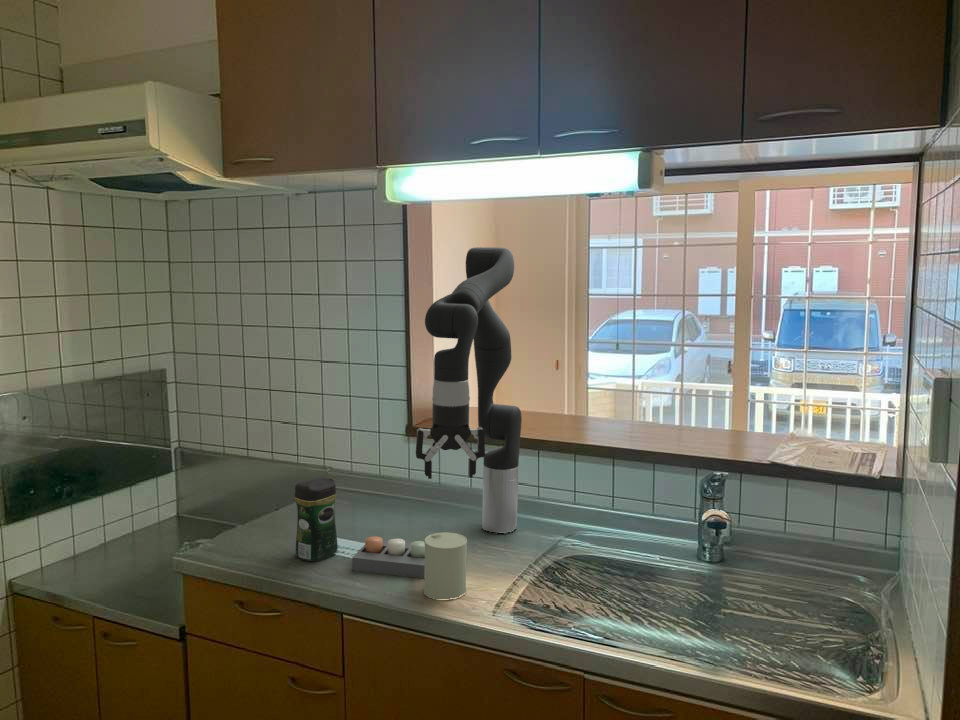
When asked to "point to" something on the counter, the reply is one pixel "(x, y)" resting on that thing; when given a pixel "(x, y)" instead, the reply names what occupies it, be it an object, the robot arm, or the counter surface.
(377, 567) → the button panel
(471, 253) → the robot arm
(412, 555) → the sage button
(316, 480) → the coffee jar
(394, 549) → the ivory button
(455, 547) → the can
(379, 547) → the terracotta button
